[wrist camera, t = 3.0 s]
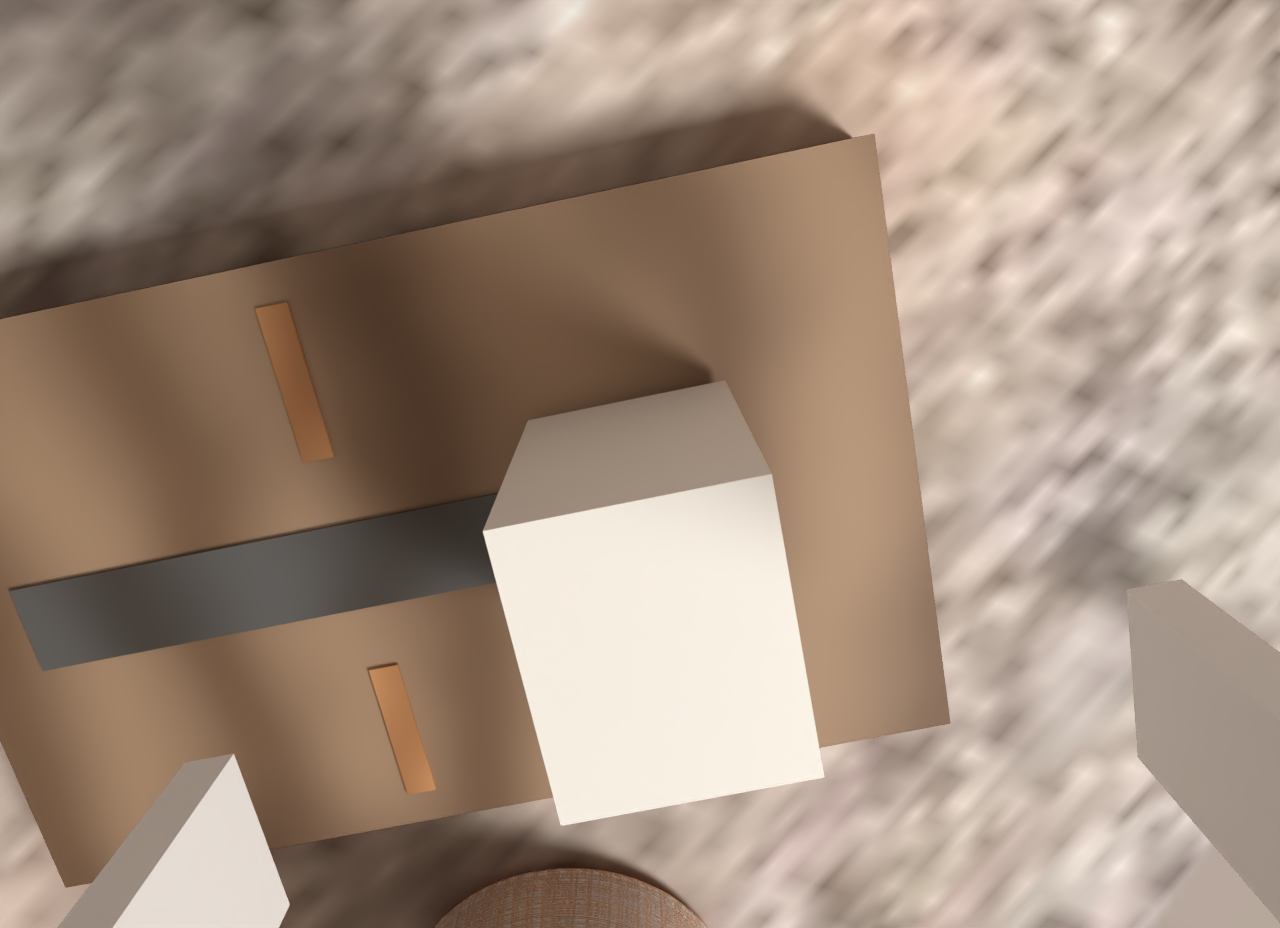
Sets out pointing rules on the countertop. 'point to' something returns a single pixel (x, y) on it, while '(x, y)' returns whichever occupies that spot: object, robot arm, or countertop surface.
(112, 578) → the fader board
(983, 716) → the countertop surface
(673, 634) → the fader cap
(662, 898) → the planter
